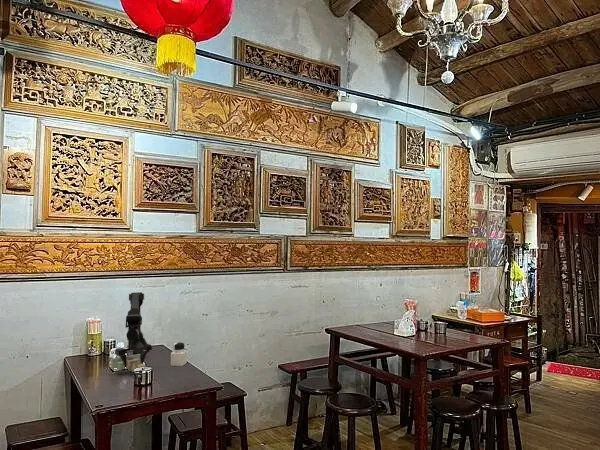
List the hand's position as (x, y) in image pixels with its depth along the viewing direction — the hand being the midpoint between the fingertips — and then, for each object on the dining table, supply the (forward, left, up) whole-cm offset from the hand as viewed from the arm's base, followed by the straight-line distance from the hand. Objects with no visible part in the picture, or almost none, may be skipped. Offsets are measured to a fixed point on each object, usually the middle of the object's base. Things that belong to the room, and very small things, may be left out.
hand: (133, 365), depth 262 cm
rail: (+1, 0, -3) cm, 3 cm away
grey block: (-9, 0, -3) cm, 9 cm away
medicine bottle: (+6, +24, -3) cm, 25 cm away
